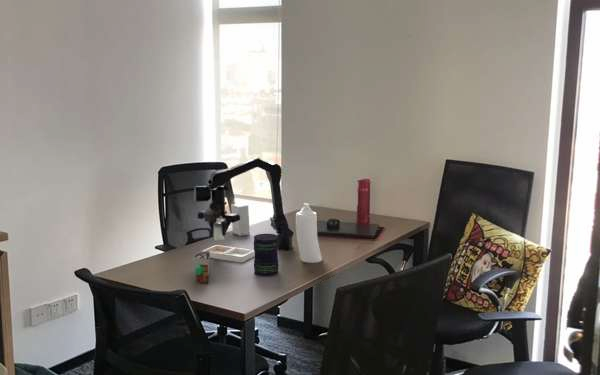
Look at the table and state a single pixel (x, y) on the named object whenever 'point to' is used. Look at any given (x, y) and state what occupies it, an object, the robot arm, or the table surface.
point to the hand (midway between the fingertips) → (219, 235)
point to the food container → (202, 266)
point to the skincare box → (241, 219)
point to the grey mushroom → (218, 231)
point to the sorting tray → (230, 253)
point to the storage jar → (266, 255)
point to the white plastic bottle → (307, 235)
